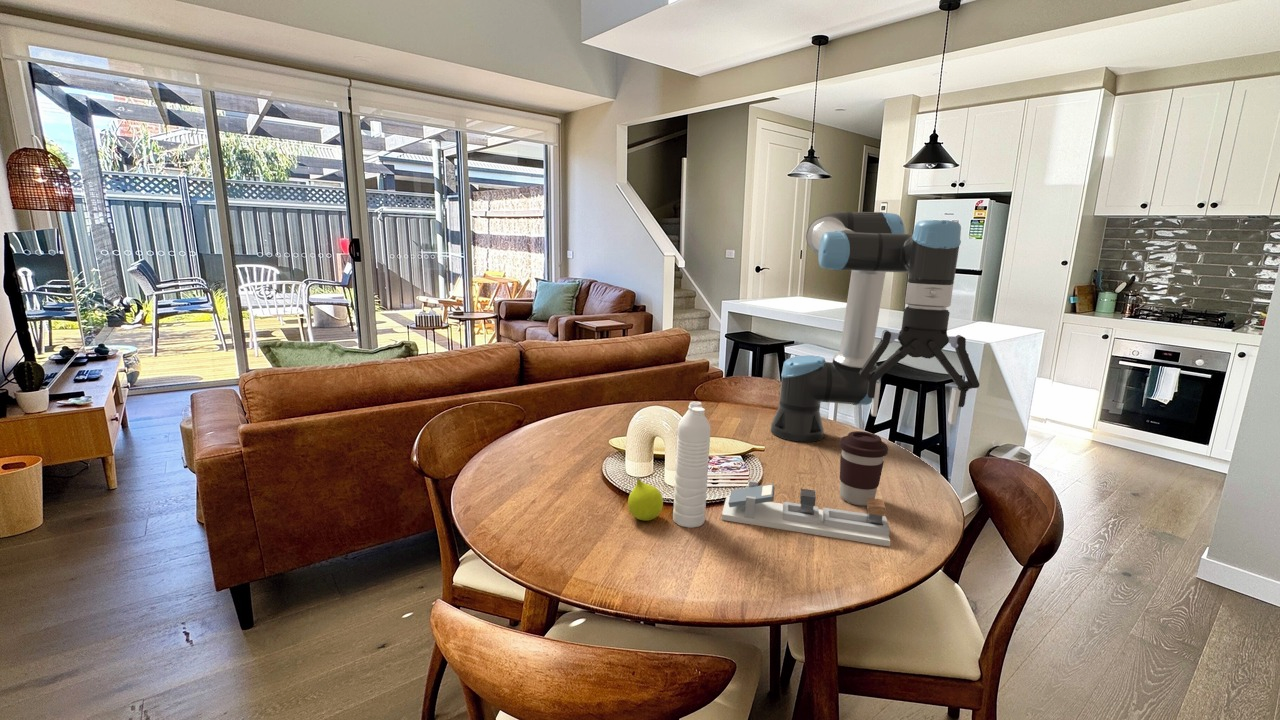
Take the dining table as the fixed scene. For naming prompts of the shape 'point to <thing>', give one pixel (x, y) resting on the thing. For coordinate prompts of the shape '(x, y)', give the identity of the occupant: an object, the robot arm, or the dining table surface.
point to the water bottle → (691, 467)
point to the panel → (808, 520)
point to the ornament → (645, 501)
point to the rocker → (752, 495)
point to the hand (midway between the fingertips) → (911, 418)
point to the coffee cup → (860, 466)
